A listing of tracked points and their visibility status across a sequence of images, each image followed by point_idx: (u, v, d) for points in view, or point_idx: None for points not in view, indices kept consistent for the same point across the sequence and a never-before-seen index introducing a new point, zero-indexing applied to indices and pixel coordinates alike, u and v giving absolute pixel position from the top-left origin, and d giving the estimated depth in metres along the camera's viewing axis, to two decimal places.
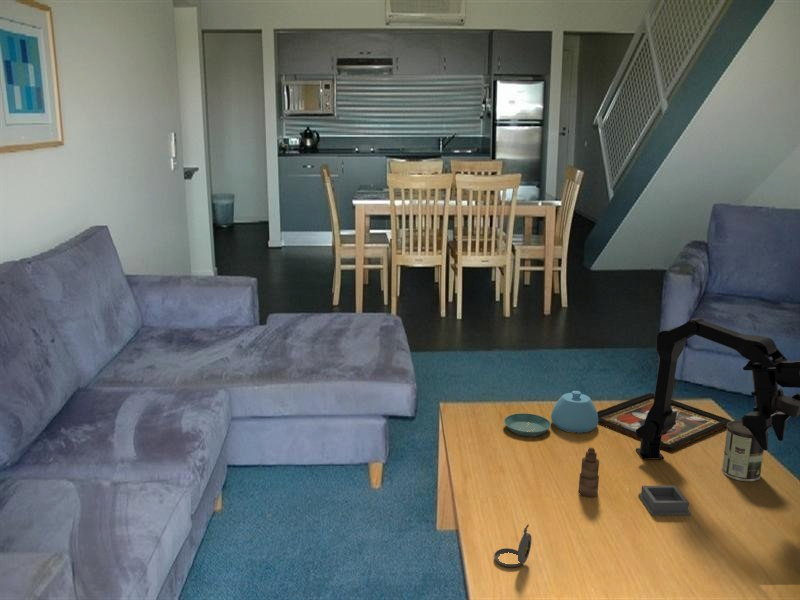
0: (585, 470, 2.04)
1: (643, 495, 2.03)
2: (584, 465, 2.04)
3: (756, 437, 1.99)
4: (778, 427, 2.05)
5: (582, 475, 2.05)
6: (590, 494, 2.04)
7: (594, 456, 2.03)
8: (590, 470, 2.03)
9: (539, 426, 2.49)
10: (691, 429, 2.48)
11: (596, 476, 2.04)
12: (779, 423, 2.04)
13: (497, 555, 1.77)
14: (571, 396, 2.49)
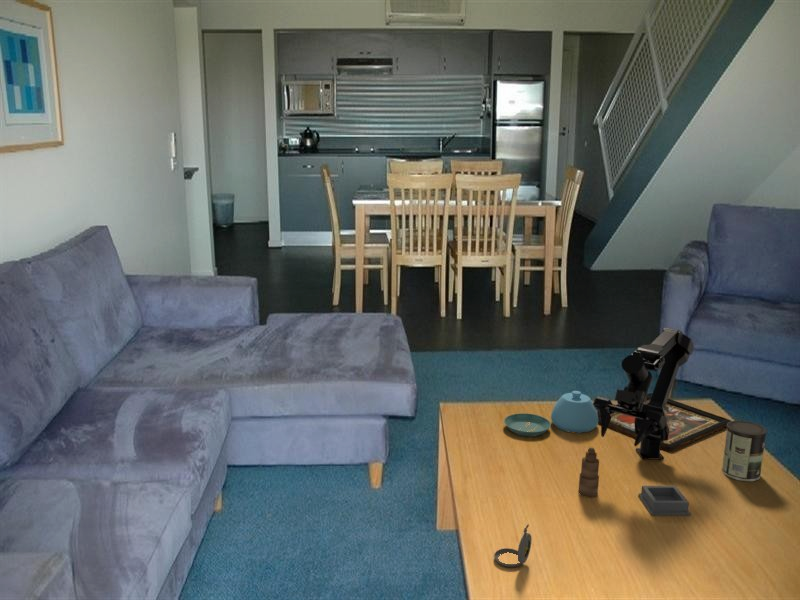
0: (585, 469, 2.04)
1: (643, 495, 2.03)
2: (584, 465, 2.04)
3: None
4: None
5: (582, 475, 2.05)
6: (590, 494, 2.04)
7: (594, 456, 2.03)
8: (590, 470, 2.03)
9: (539, 426, 2.49)
10: (691, 429, 2.48)
11: (596, 476, 2.04)
12: None
13: (497, 555, 1.77)
14: (571, 396, 2.49)
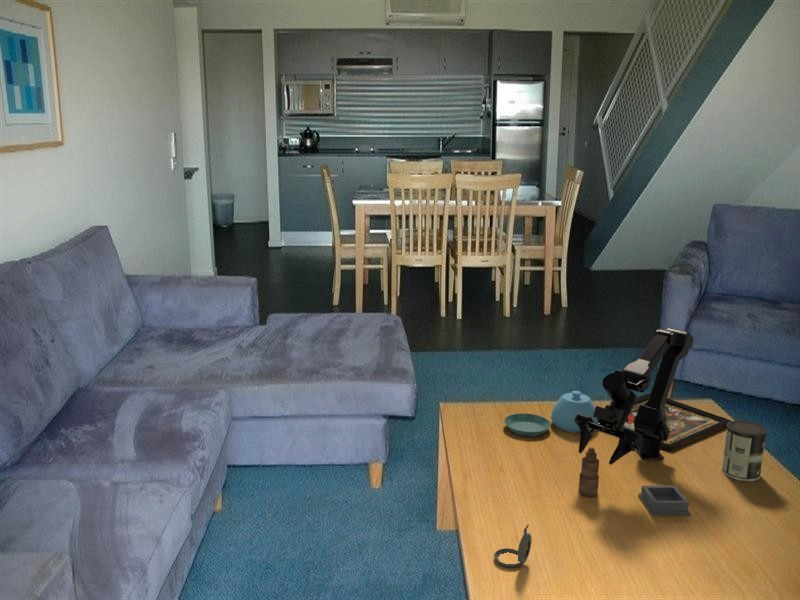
0: (585, 470, 2.04)
1: (643, 495, 2.03)
2: (584, 465, 2.04)
3: None
4: None
5: (582, 475, 2.05)
6: (590, 494, 2.04)
7: (594, 456, 2.03)
8: (590, 470, 2.03)
9: (539, 426, 2.49)
10: (691, 429, 2.48)
11: (596, 476, 2.04)
12: None
13: (497, 555, 1.77)
14: (571, 396, 2.49)
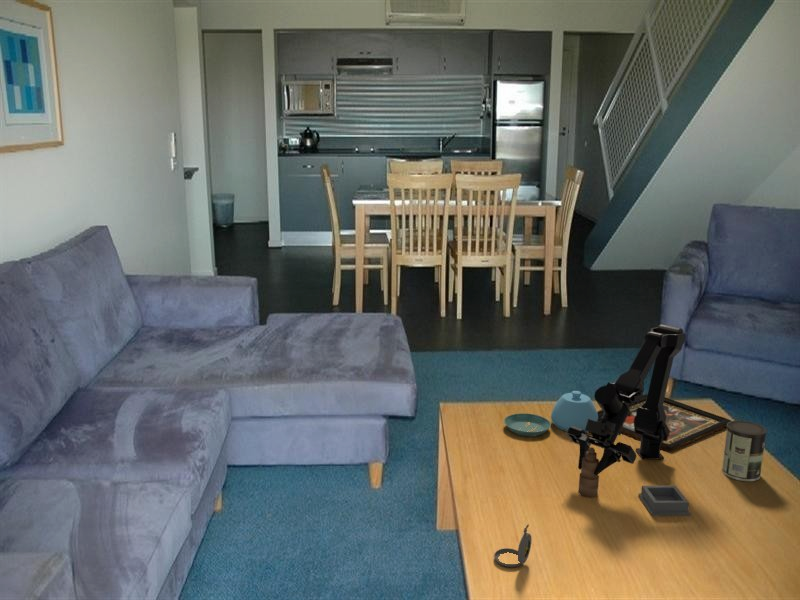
0: (585, 469, 2.04)
1: (643, 495, 2.03)
2: (584, 465, 2.04)
3: None
4: None
5: (582, 475, 2.05)
6: (590, 494, 2.04)
7: (594, 456, 2.03)
8: (590, 469, 2.03)
9: (539, 426, 2.49)
10: (691, 429, 2.48)
11: (596, 476, 2.04)
12: None
13: (497, 555, 1.77)
14: (571, 396, 2.49)
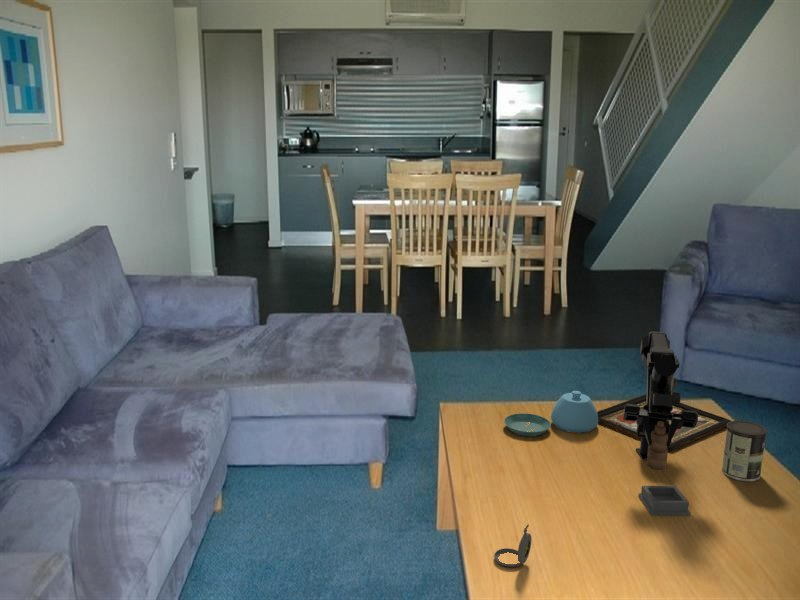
0: (659, 444, 2.04)
1: (643, 495, 2.03)
2: (658, 440, 2.04)
3: (644, 433, 2.08)
4: None
5: (655, 450, 2.05)
6: (663, 466, 2.06)
7: (665, 429, 2.04)
8: (664, 443, 2.04)
9: (539, 426, 2.49)
10: (691, 429, 2.48)
11: (666, 448, 2.06)
12: (669, 430, 2.06)
13: (497, 555, 1.77)
14: (571, 396, 2.49)
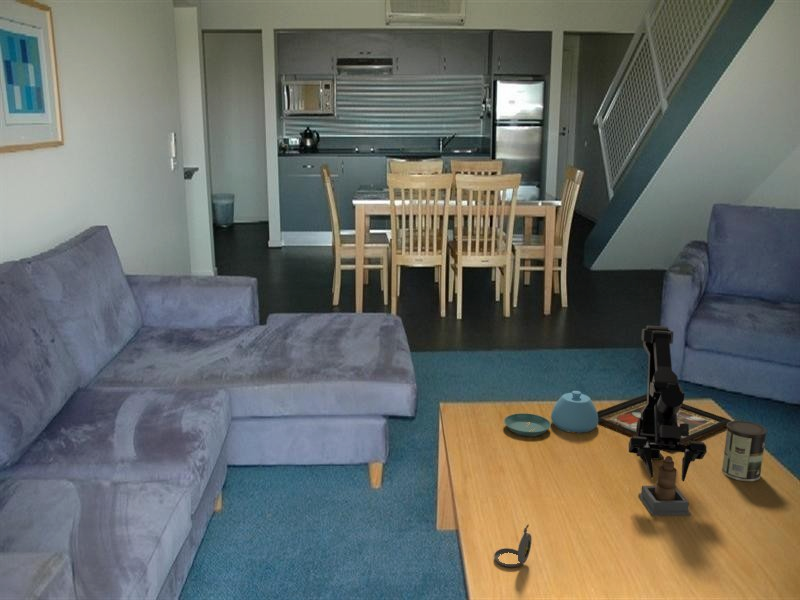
0: (667, 480, 1.97)
1: (643, 495, 2.03)
2: (667, 476, 1.97)
3: (646, 465, 2.01)
4: (683, 468, 1.99)
5: (663, 486, 1.98)
6: None
7: (673, 464, 1.97)
8: (672, 479, 1.97)
9: (539, 426, 2.49)
10: (691, 429, 2.48)
11: None
12: (683, 463, 1.99)
13: (497, 555, 1.77)
14: (571, 396, 2.49)
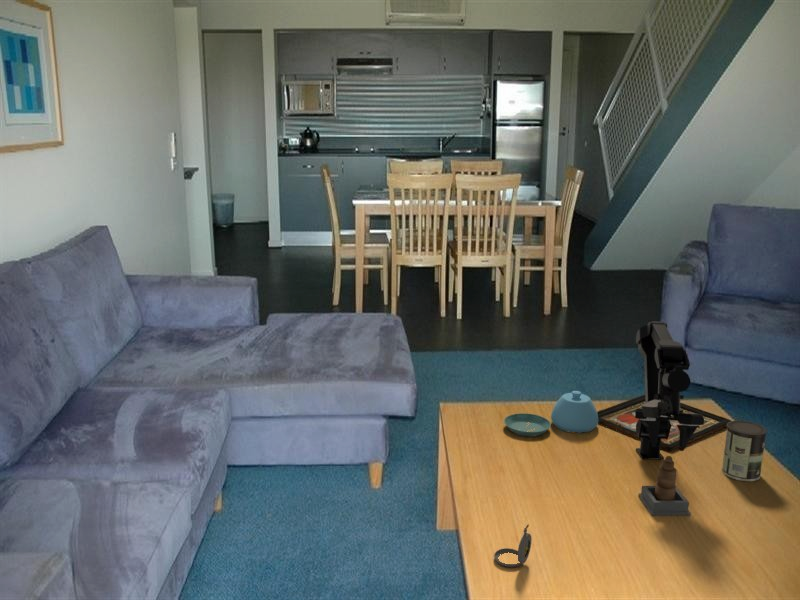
0: (667, 480, 1.97)
1: (643, 495, 2.03)
2: (667, 476, 1.97)
3: None
4: None
5: (663, 486, 1.98)
6: None
7: (673, 464, 1.97)
8: (672, 479, 1.97)
9: (539, 426, 2.49)
10: None
11: None
12: None
13: (497, 555, 1.77)
14: (571, 396, 2.49)
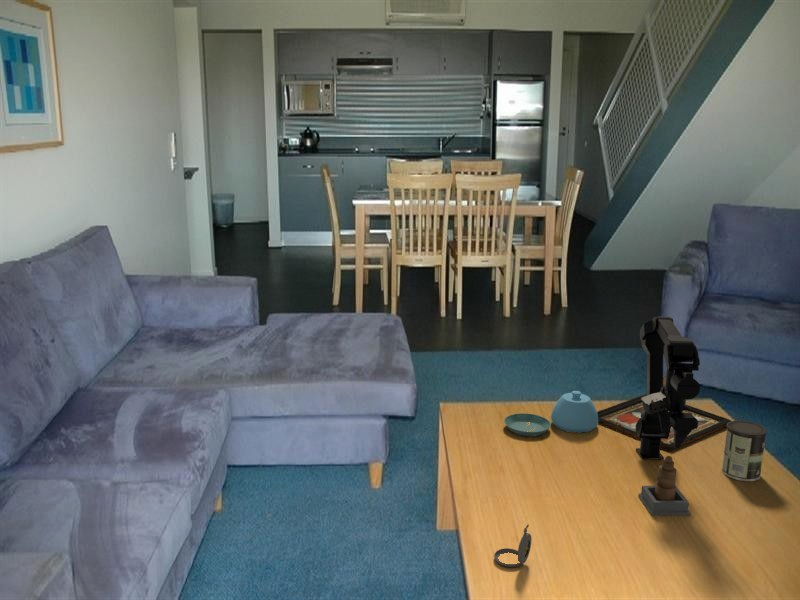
0: (667, 480, 1.97)
1: (643, 495, 2.03)
2: (667, 476, 1.97)
3: None
4: None
5: (663, 486, 1.98)
6: None
7: (673, 464, 1.97)
8: (672, 479, 1.97)
9: (539, 426, 2.49)
10: None
11: None
12: None
13: (497, 555, 1.77)
14: (571, 396, 2.49)
